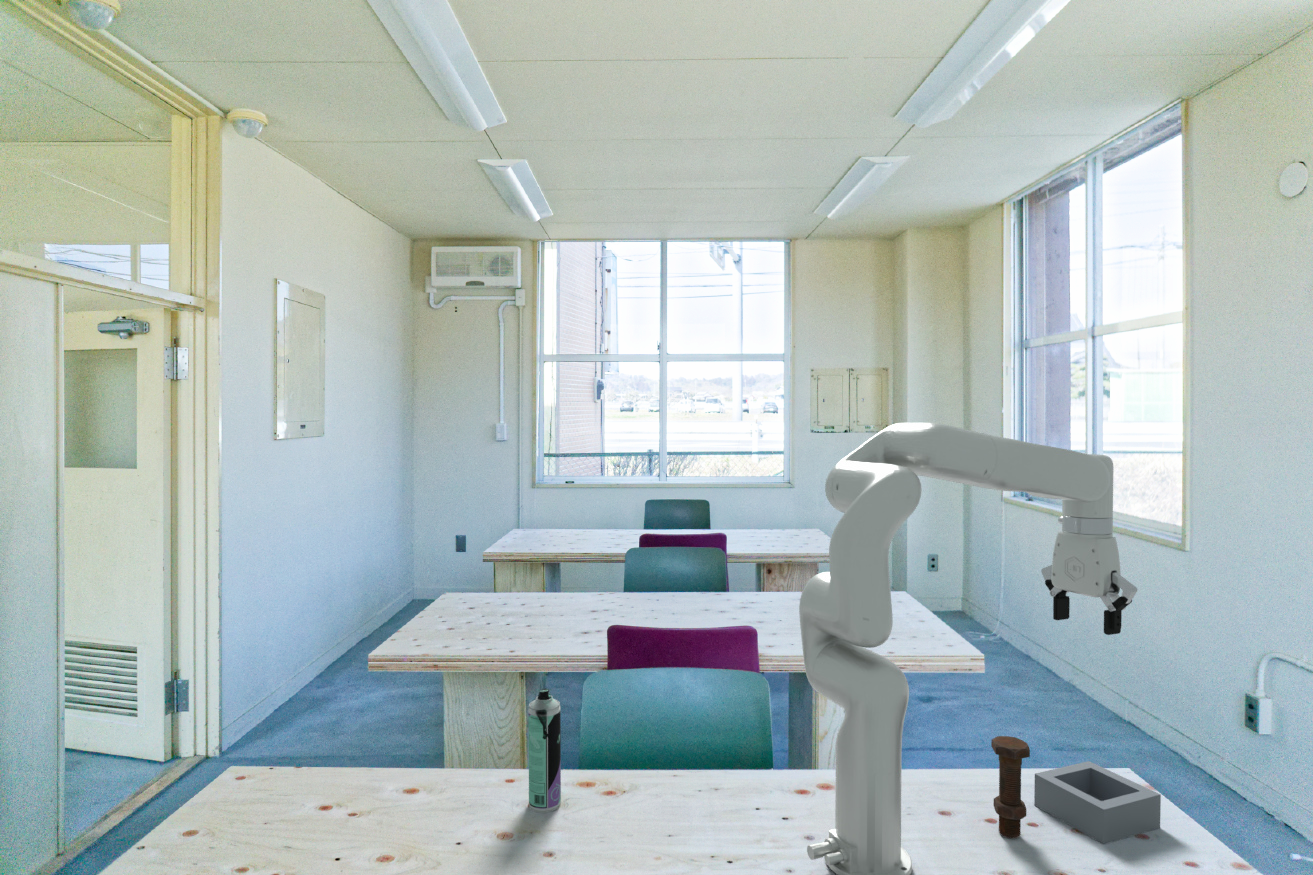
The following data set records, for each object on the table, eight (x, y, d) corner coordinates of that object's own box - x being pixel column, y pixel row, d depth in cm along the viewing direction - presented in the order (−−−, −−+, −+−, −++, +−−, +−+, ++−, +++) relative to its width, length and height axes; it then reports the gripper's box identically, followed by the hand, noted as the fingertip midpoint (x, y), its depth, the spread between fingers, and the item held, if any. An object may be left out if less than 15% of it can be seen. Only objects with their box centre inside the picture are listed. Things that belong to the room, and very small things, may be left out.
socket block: (1103, 844, 119) (1103, 809, 118) (1034, 805, 131) (1034, 773, 131) (1160, 827, 123) (1160, 794, 123) (1088, 791, 135) (1088, 761, 135)
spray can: (564, 809, 129) (563, 693, 129) (532, 815, 127) (532, 697, 127) (556, 794, 135) (556, 682, 134) (525, 800, 133) (525, 686, 132)
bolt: (1031, 846, 118) (1032, 751, 118) (997, 843, 119) (997, 748, 119) (1021, 827, 124) (1022, 736, 123) (988, 823, 125) (989, 733, 124)
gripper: (1028, 521, 136) (1027, 616, 136) (1119, 534, 120) (1117, 642, 120) (1059, 519, 139) (1058, 612, 139) (1151, 532, 122) (1150, 637, 123)
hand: (1085, 626), depth 129 cm, fingers open, 9 cm apart
